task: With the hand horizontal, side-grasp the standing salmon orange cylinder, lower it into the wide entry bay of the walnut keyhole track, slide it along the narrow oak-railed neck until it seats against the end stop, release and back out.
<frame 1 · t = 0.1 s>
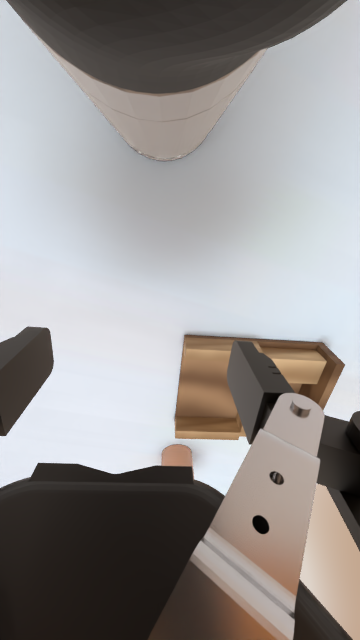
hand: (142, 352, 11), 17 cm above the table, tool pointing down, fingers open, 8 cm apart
keyhole track: (243, 384, 35), on the table
salmon orange cylinder: (176, 454, 41), on the table
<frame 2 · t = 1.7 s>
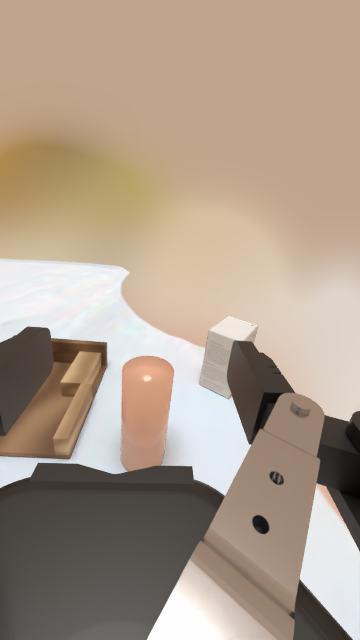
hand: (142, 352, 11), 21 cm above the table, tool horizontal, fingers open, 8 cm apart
keyhole track: (38, 398, 35), on the table
small box: (222, 381, 44), on the table
salmon orange cylinder: (142, 454, 29), on the table
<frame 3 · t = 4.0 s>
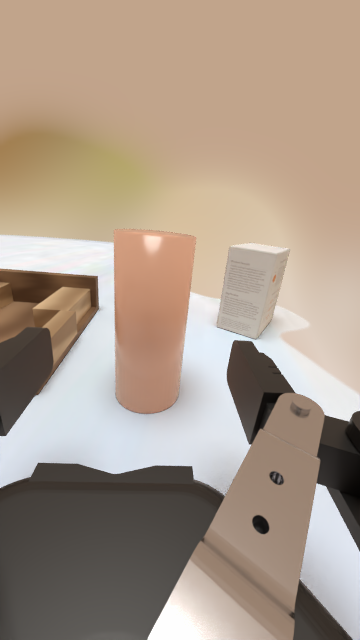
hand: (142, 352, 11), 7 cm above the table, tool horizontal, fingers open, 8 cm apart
keyhole track: (4, 334, 26), on the table
small box: (244, 325, 35), on the table
salmon orange cylinder: (147, 390, 20), on the table
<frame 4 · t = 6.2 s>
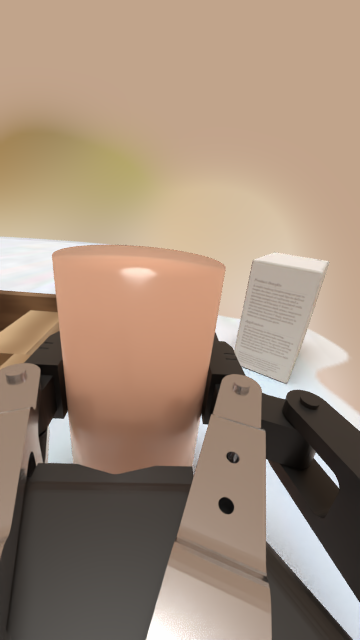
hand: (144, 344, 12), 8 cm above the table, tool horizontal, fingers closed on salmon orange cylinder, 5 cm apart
small box: (267, 358, 27), on the table
salmon orange cylinder: (134, 503, 12), on the table, touching gripper
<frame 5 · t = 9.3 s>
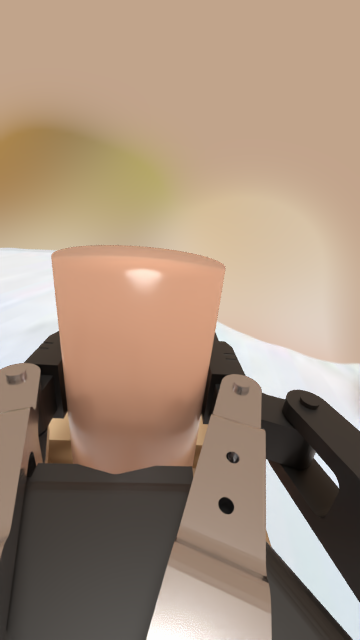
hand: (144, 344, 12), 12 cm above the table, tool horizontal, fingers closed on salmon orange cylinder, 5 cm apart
keyhole track: (135, 472, 19), on the table
salmon orange cylinder: (134, 504, 12), point 5 cm above the table, touching gripper
when the fingers open (9 cm above the table, at t = 12.5 s): salmon orange cylinder stays where it is, resting on keyhole track.
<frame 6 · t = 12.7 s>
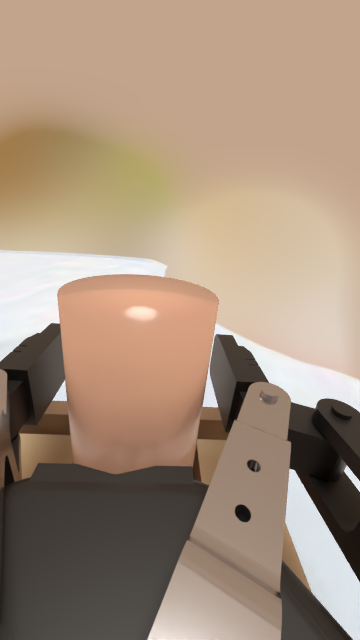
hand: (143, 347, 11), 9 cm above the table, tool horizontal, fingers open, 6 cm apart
salmon orange cylinder: (133, 520, 13), point 1 cm above the table, touching keyhole track
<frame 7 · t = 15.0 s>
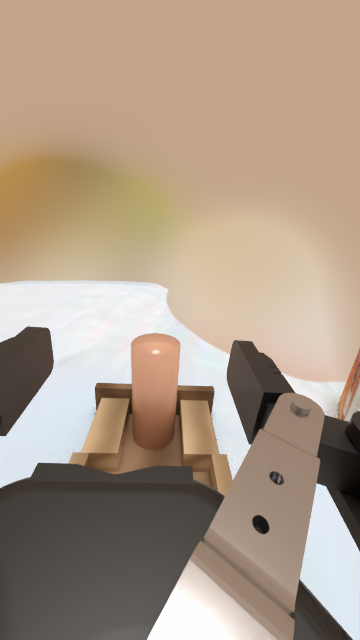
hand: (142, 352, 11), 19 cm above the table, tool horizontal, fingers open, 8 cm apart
keyhole track: (150, 475, 26), on the table
small box: (359, 429, 34), on the table
salmon orange cylinder: (153, 432, 30), point 1 cm above the table, touching keyhole track
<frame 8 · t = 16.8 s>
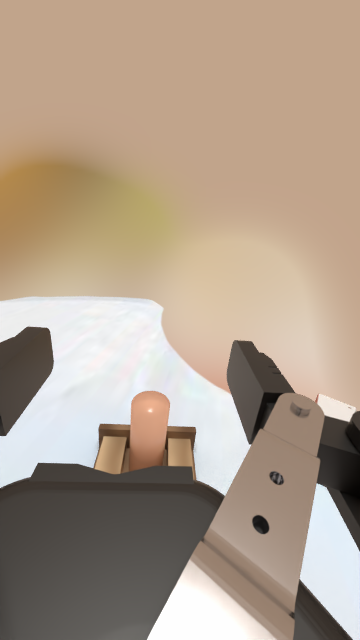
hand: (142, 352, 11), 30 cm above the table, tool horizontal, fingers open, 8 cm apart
keyhole track: (142, 504, 33), on the table
small box: (314, 462, 42), on the table
salmon orange cylinder: (145, 465, 37), point 1 cm above the table, touching keyhole track
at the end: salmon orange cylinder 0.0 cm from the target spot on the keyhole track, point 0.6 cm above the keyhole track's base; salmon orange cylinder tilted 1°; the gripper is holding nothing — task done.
